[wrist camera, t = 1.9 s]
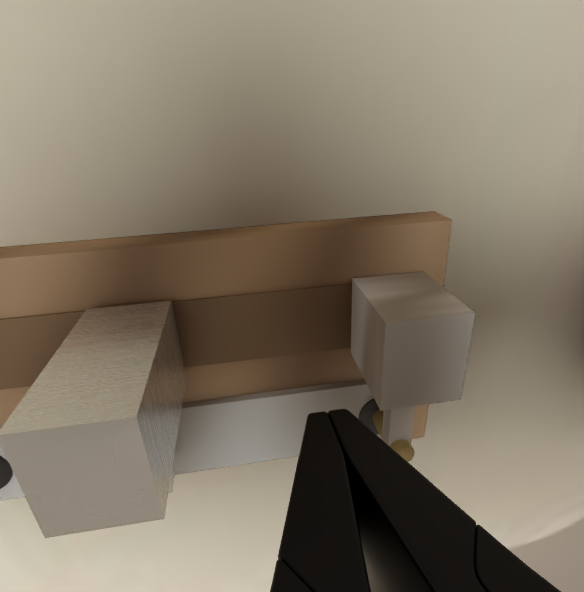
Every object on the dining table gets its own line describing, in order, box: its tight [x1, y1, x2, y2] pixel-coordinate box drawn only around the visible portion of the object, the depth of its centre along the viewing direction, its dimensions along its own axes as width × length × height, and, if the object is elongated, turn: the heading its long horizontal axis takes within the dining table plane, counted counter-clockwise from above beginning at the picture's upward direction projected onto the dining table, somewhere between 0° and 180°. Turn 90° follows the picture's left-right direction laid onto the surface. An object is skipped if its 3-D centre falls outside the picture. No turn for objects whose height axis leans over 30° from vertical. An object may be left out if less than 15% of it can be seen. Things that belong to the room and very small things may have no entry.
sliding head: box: [0, 301, 186, 538], centre depth 11 cm, size 2×6×5 cm, turn 3°
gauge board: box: [0, 211, 475, 501], centre depth 12 cm, size 20×9×4 cm, turn 93°
